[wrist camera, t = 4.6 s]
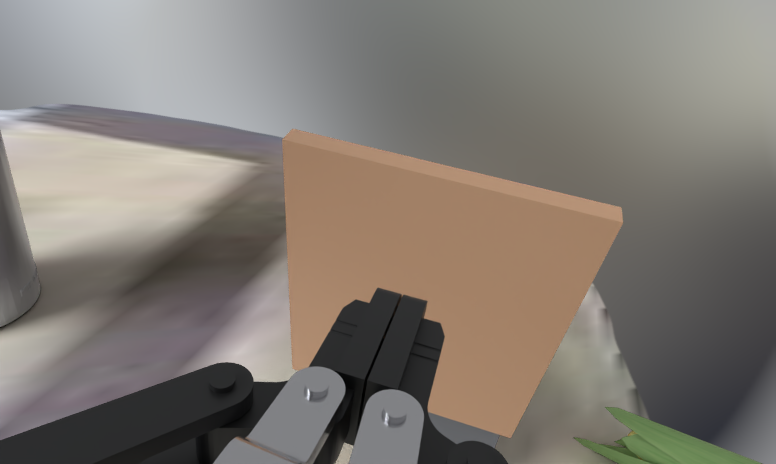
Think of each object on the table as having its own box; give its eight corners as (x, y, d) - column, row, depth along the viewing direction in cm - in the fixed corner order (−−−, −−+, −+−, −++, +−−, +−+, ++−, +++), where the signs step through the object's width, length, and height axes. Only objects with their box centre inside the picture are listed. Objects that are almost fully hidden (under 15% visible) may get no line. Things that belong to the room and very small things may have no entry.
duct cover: (299, 356, 32) (292, 368, 31) (292, 128, 21) (282, 139, 21) (512, 423, 30) (510, 438, 29) (621, 207, 19) (623, 222, 19)
